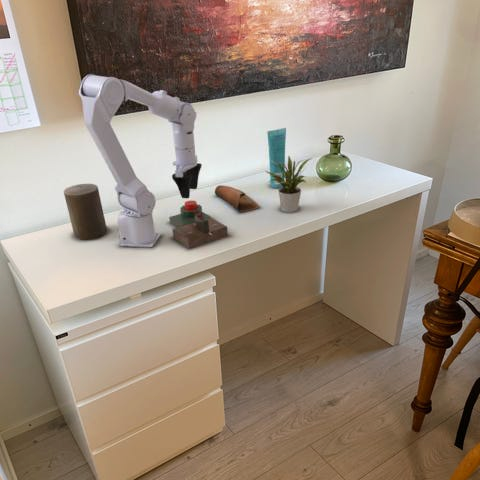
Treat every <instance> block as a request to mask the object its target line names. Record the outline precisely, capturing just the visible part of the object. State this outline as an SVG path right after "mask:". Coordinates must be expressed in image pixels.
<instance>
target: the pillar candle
mask: <svg viewBox="0 0 480 480" xmlns="http://www.w3.org/2000/svg"><path fill="white" fill-rule="evenodd" d="M63 196H64V199H65V203H66V207H67V211H68V216H69V220H70V224H71V228H72V232H73V236H74V237H75V238H76V239H79V240H82V241H87V240H90V241H91V240H94V239H95V240H96V239H100V238H102V237H103V236H104V235H106V234H107V233H108V228H107V223H106V219H105V214H104V210H103V205H102V200H101V195H100V191H99V186H98V185H97V184H94V183H79V184H74V185H71V186H68V187H66V188H65V189H64V190H63Z"/></svg>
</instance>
